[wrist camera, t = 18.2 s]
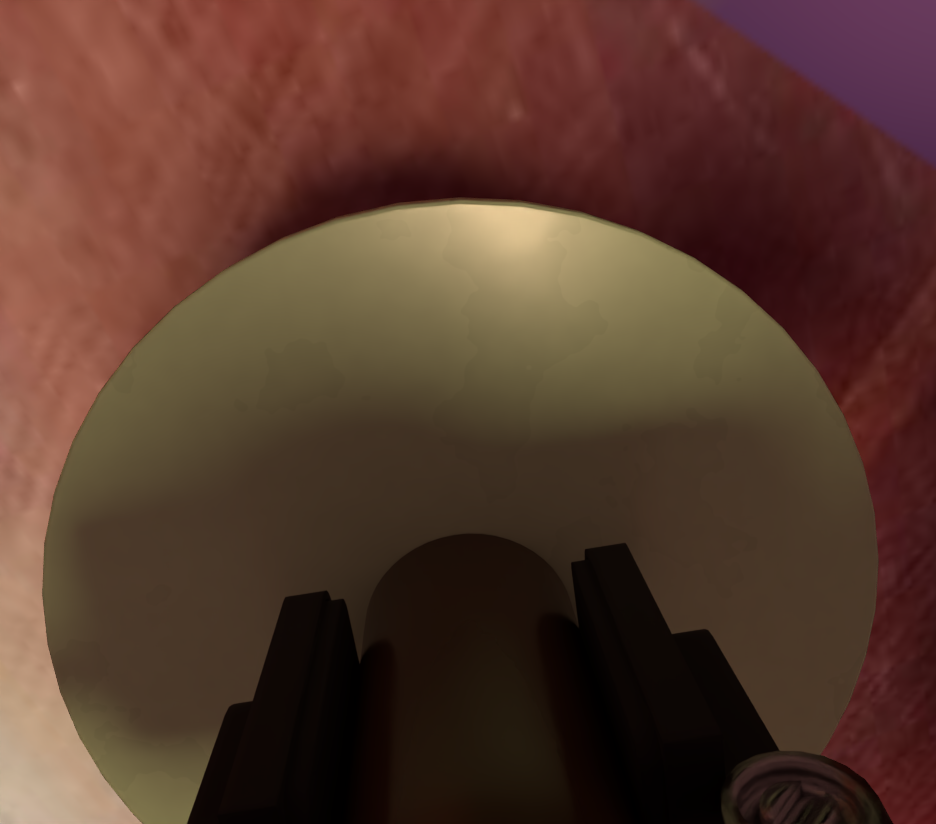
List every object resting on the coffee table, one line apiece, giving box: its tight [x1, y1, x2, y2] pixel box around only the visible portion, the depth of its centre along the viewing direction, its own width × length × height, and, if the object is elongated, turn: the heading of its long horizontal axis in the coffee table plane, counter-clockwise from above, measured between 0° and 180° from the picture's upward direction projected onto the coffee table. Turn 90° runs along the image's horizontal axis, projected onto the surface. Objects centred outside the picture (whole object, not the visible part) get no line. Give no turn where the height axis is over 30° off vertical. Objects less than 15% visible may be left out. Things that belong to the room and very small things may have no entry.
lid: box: [42, 197, 878, 824], centre depth 10 cm, size 12×12×7 cm
